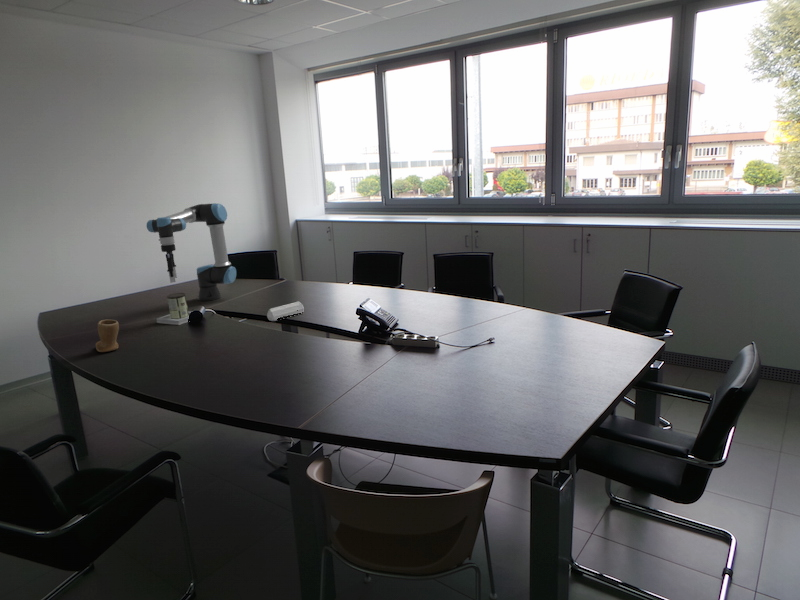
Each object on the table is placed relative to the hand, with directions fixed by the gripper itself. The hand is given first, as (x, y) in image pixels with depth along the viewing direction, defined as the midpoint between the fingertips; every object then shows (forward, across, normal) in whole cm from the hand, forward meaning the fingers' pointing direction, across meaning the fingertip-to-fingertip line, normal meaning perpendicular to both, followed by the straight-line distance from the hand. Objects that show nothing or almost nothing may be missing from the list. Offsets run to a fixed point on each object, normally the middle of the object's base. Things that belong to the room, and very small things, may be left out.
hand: (173, 280), depth 308 cm
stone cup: (+24, +41, -32) cm, 57 cm away
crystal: (+25, +28, +59) cm, 70 cm away
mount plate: (+24, 0, 0) cm, 24 cm away
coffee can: (+23, 0, 0) cm, 23 cm away
